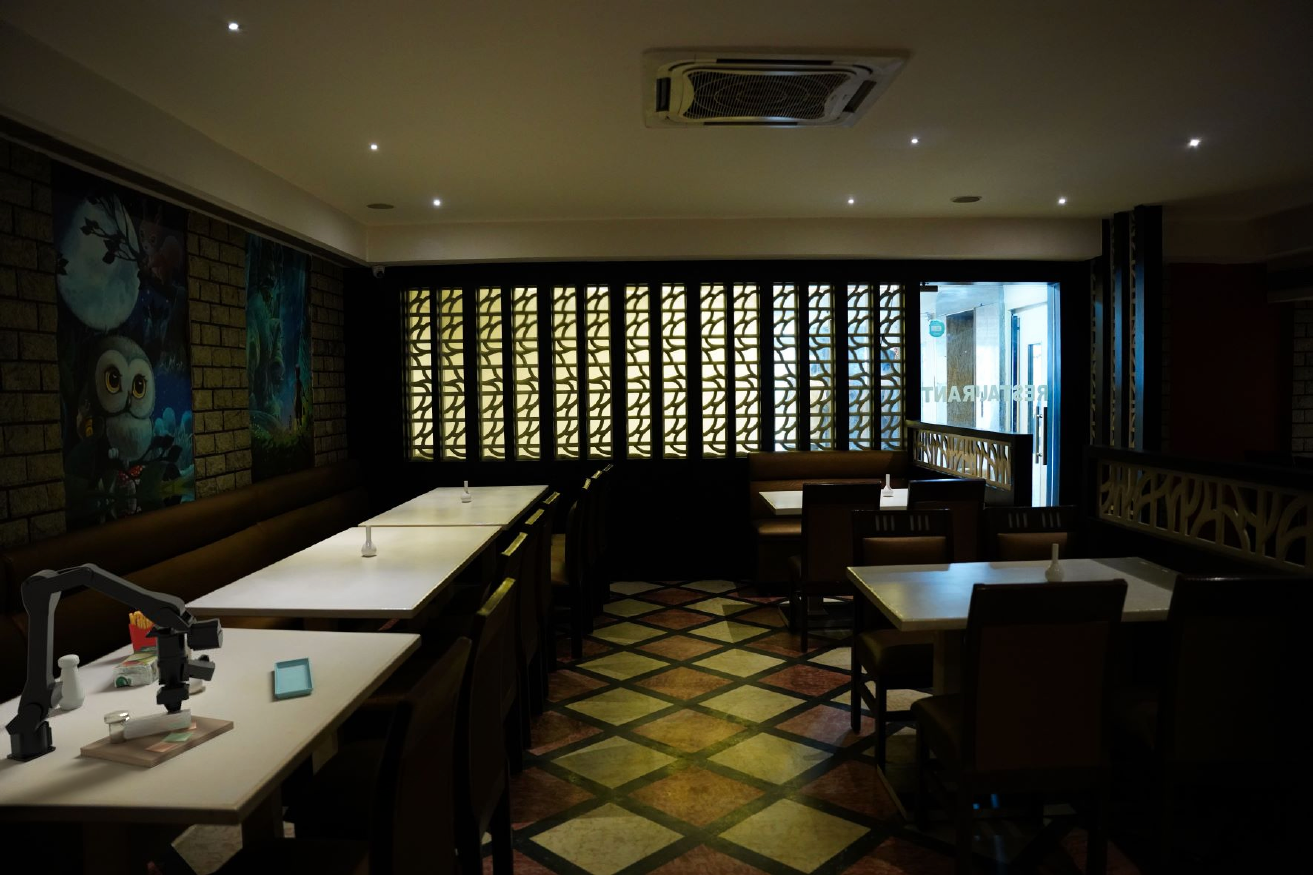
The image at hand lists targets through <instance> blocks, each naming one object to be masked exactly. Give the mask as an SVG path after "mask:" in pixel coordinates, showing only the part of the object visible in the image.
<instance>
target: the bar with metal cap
mask: <svg viewBox="0 0 1313 875" xmlns="http://www.w3.org/2000/svg"><path fill="white" fill-rule="evenodd" d="M165 712H166V713H164V712H160V713H156V714H149V715H144V716H138V717H132V718H131V712H130V710H128V709H119V710H115V711H112V712H108V713H106V714H104V716H103V723H104V725H108V736H109V738H110V743H118V742H122V741H124V740H126V739H127V738H131V737H137V736H142V735H148V734H153V733H159V732H165V731H170V730H176V729H181V728H187V727H191V715H192V714H191V708H190V707H189V708H185V709H181V710H178V711H172V712H168V711H165Z"/></svg>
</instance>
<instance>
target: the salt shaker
mask: <svg viewBox="0 0 1313 875" xmlns="http://www.w3.org/2000/svg"><path fill="white" fill-rule="evenodd" d="M79 663H80V659H79V656H78V655H76V654H67V655H64V656H62V657H59V659H58V660H57V664H58V667H59V668H60V669H61V670H60V679H59V681H63V685H62V690H61V691H62V696H63V699H61V700H60V701H59V704H58V706H59V707H60V709H61V710H62V711H71V710H75V709H78V708H80V707H82V706H83V704H84V701H85V698H86V693H85V691H84V687H83V684H82V679H81V676H80V673H79V670H78V665H79Z"/></svg>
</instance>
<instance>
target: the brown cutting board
mask: <svg viewBox="0 0 1313 875" xmlns="http://www.w3.org/2000/svg"><path fill="white" fill-rule="evenodd" d="M166 712H167V711H165V712H163V713H166ZM234 725H235V724H234V721H231V720H227V719H226V720H225V719H218V718H213V717H207V716H198V715H192V714H191V727H187V728H181V729H176V730H170V731H165V732H159V733H153V734H148V735H142V736H137V737H131V738H127V739H126V740H124V741H122V742H118V743H110V738H109V735H108V736H105V737H103V738H101V739H100V738H99V739H97V740H96V741H94V742H91V743H88V744H86V745H84V746H81V747H80V748H79V749H80V751H79V752H80V755H81V756H86V757H91V758H97V759H103V760H108V761H114V762H119V763H124V764H130V765H134V766H142V767H147V768H153V767H155V766H157V765H160V764H161V763H164V762H166V761H168V760H170V759H172V758H174V757H176V756H178V755H180V754H182V753H184V752H186V751H188V750H191V749H193V748H196V747H197V746H200V745H201V744H203V743H205V742H208V741H210V740H212V739H213V738H216V737H218V736H219V735H222V734H224V733H226V732H228V731H230V730H233V729H234V728H235V726H234Z"/></svg>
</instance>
